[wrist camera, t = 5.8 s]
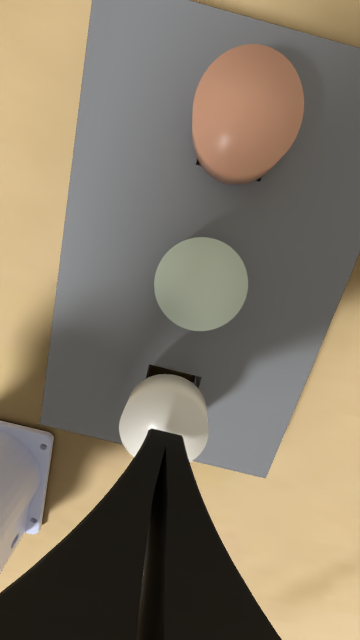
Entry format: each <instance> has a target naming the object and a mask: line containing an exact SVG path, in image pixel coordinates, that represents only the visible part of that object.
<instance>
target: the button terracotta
mask: <svg viewBox="0 0 360 640" xmlns="http://www.w3.org/2000/svg"><path fill="white" fill-rule="evenodd" d="M303 112H304V94H303V88H302V84H301V81H300V78H299V76H298V74H297V72H296V70H295V68H294V67H293V65H292V64H291V62H290V61H289V60H288V59H287V58H286V57H285V56H284V55H283V54H281V53H280V52H279V51H277V50H275V49H273V48H271V47H268V46H265V45H260V44H246V45H241V46H238V47H235V48H232V49H230V50H228V51H226V52H225V53H223V54H222V55H220V56H219V57H218V58H217V59H216V60H215V61H214V62H213V63H212V64H211V65H210V66H209V67H208V69H207V70H206V72H205V73H204V75H203V76H202V78H201V80H200V82H199V85H198V87H197V90H196V93H195V97H194V102H193V113H192V141H193V147H194V151H195V154H196V156H197V159H198V161H199V163H200V164H201V166H202V167H203V168H204V170H205V171H206V172H207V173H208V174H209V175H210V176H212V177H213V178H215V179H216V180H218V181H220V182H223V183H226V184H232V185H240V184H246V183H250V182H253V181H255V180H257V179H259V178H261V177H262V176H263V175H265V174H266V173H267V172H268V171H269V170H270V169H271V168H272V167H273V166H274V165H275V164H276V163H277V162H278V161H279V160H280V159H281V158H282V157H283V155H284V154H285V153H286V152H287V151H288V150H289V148H290V147H291V145H292V144H293V142H294V140H295V138H296V136H297V134H298V132H299V129H300V127H301V123H302V119H303Z"/></svg>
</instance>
